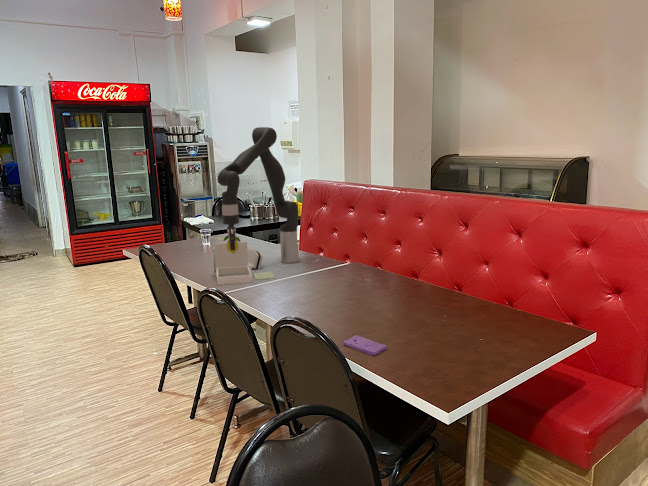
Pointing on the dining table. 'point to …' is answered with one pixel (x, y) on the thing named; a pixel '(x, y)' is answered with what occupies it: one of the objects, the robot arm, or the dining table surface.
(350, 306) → the dining table surface
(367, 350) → the sponges
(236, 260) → the case
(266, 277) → the mat
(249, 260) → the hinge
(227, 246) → the lemon
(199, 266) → the dining table surface
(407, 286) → the dining table surface
